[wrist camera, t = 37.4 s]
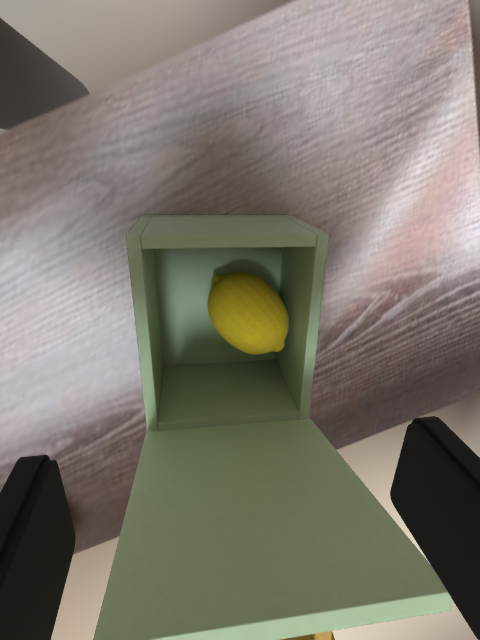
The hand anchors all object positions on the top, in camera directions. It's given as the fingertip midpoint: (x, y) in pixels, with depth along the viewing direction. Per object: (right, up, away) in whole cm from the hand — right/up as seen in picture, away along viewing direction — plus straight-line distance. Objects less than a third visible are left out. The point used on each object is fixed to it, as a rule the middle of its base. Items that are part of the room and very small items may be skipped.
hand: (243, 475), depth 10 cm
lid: (0, -5, +9) cm, 10 cm away
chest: (-2, +6, +22) cm, 23 cm away
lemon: (-2, +8, +19) cm, 21 cm away
